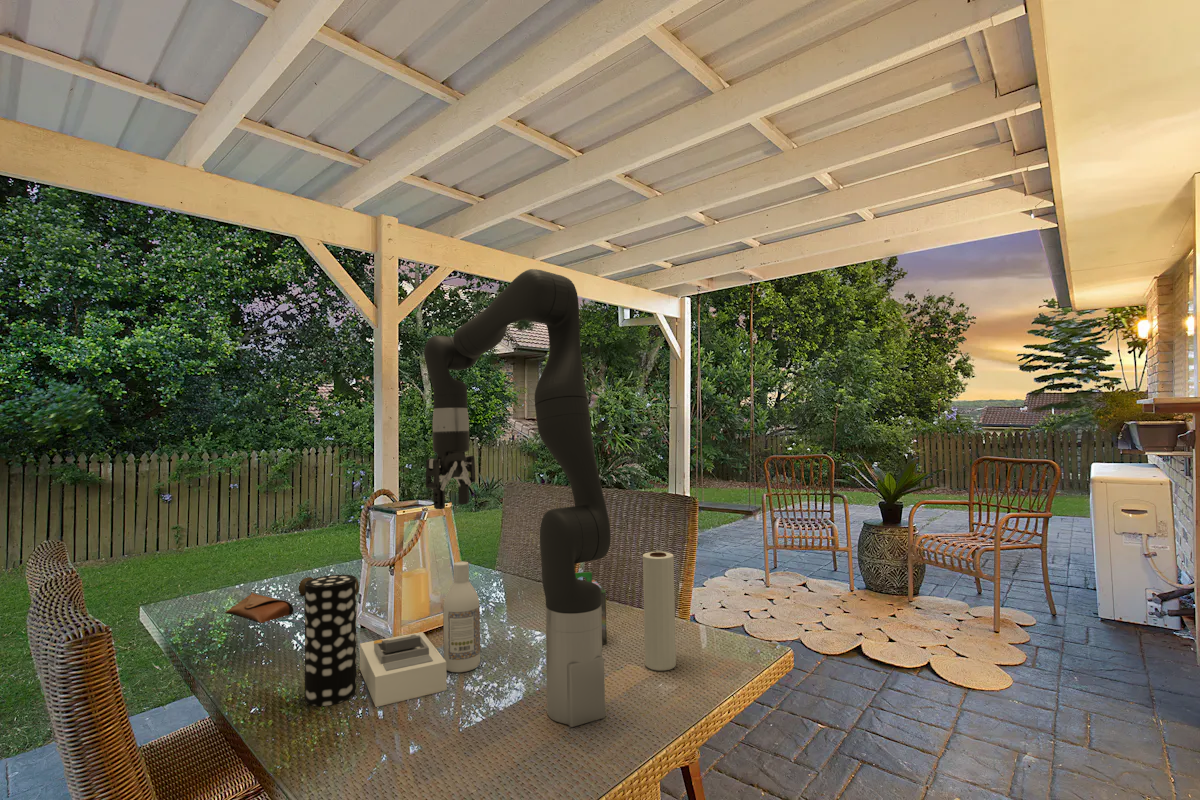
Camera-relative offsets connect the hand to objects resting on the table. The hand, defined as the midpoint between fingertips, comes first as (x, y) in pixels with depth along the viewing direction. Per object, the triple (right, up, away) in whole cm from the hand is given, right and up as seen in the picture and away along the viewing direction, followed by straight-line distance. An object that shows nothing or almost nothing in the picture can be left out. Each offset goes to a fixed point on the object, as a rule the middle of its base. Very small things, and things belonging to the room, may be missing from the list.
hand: (452, 506), depth 127 cm
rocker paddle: (-6, -23, -15) cm, 28 cm away
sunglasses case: (-56, -33, +26) cm, 70 cm away
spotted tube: (-16, -30, -21) cm, 40 cm away
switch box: (-6, -30, -16) cm, 34 cm away
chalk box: (+27, -30, +3) cm, 41 cm away
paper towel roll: (+43, -29, -11) cm, 53 cm away
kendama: (-43, -33, +38) cm, 66 cm away
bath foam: (+4, -30, -10) cm, 32 cm away
